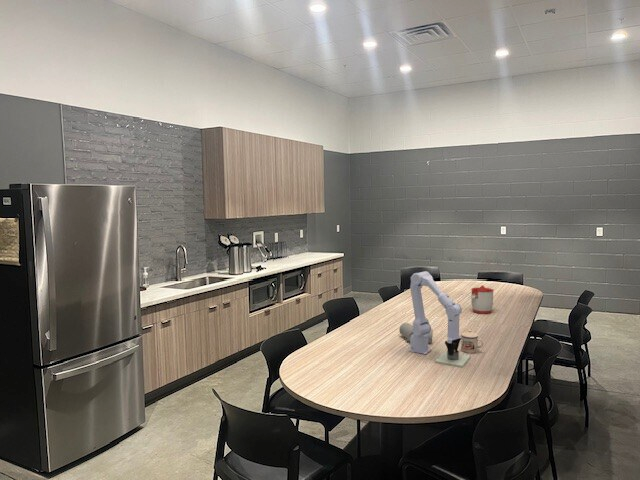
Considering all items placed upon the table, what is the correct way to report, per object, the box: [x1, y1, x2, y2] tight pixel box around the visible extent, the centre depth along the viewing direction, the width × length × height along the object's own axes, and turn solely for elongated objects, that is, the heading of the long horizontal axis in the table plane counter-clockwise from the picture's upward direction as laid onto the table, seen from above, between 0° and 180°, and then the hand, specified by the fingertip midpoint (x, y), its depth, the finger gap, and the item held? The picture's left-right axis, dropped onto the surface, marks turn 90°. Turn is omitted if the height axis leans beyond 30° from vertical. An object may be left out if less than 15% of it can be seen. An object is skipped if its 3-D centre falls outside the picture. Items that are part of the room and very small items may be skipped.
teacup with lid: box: [460, 329, 485, 354], centre depth 261 cm, size 12×9×12 cm
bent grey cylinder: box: [399, 322, 434, 344], centre depth 282 cm, size 18×11×20 cm
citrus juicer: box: [470, 285, 494, 315], centre depth 345 cm, size 16×17×20 cm
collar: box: [446, 349, 460, 360], centre depth 246 cm, size 6×6×4 cm
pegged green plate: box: [434, 350, 471, 368], centre depth 246 cm, size 14×16×6 cm
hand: (453, 353), depth 246 cm, fingers open, 7 cm apart
